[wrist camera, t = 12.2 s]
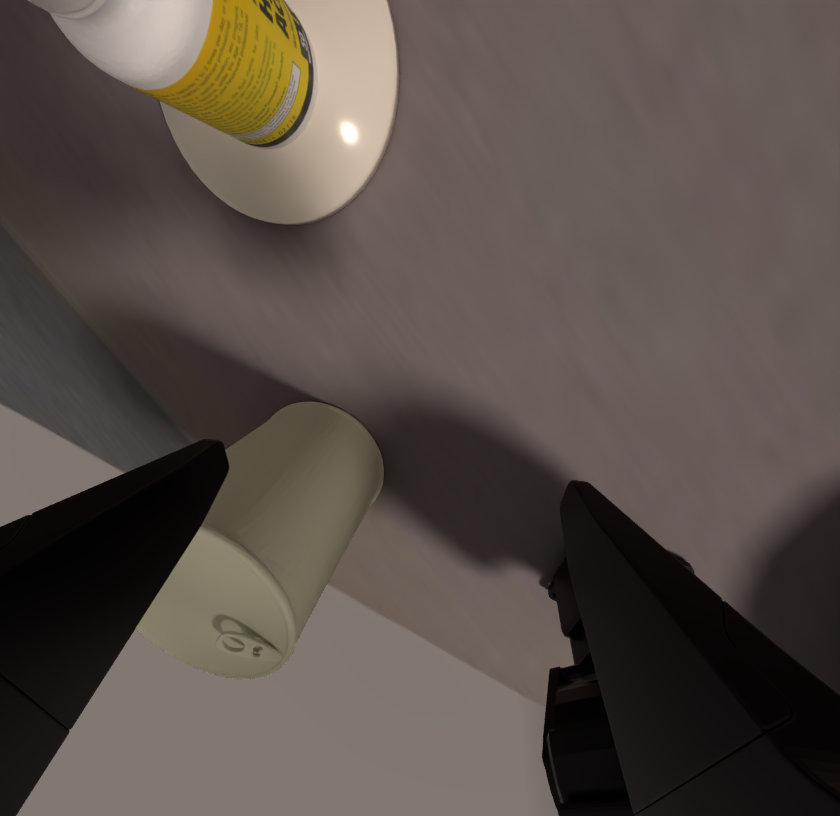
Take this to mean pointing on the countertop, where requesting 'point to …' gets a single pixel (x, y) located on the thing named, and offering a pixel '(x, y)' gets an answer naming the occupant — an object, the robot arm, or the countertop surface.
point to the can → (268, 543)
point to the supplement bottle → (204, 59)
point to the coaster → (312, 123)
